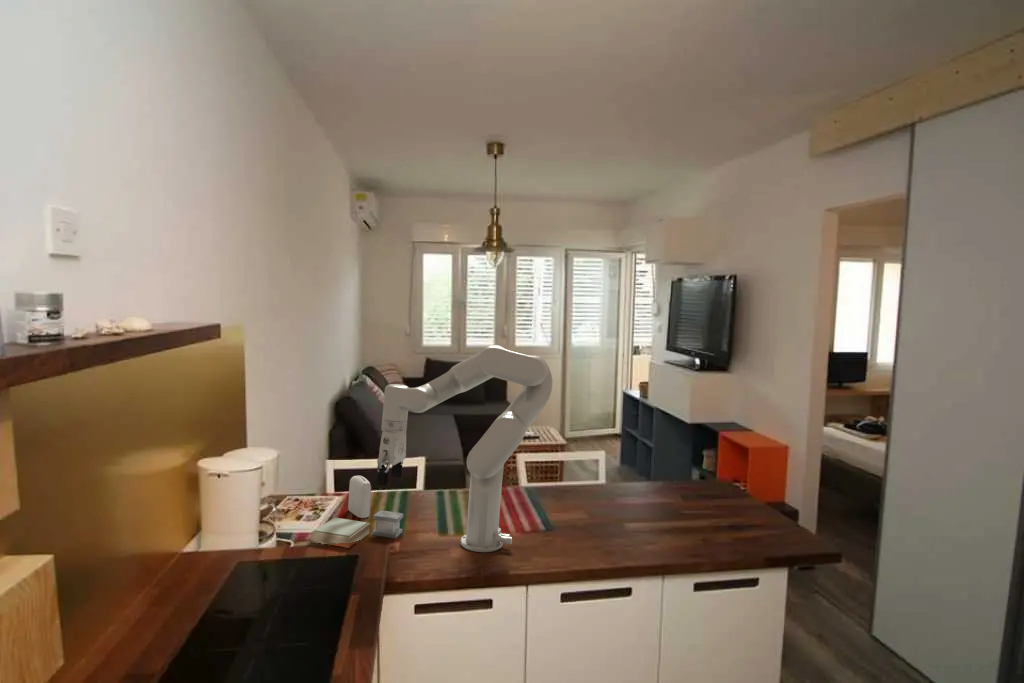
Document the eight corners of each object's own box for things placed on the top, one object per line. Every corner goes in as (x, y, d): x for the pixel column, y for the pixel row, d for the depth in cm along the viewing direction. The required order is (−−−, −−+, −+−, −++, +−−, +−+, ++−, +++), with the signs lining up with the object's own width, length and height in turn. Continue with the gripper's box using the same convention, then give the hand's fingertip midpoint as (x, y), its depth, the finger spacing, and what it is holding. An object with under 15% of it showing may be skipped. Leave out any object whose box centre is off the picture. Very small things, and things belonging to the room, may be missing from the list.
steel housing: (402, 532, 163) (403, 513, 163) (395, 538, 158) (396, 518, 158) (379, 529, 165) (380, 510, 164) (372, 535, 160) (373, 515, 160)
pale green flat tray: (369, 533, 160) (369, 522, 160) (349, 548, 149) (350, 536, 149) (333, 527, 163) (334, 516, 163) (310, 542, 151) (311, 530, 151)
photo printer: (346, 509, 179) (348, 473, 179) (358, 507, 182) (360, 472, 181) (358, 519, 171) (361, 481, 171) (371, 517, 174) (373, 480, 173)
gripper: (393, 431, 152) (388, 490, 152) (416, 422, 168) (412, 475, 169) (369, 428, 153) (364, 486, 153) (394, 419, 170) (390, 472, 170)
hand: (389, 480), depth 161 cm, fingers open, 9 cm apart
